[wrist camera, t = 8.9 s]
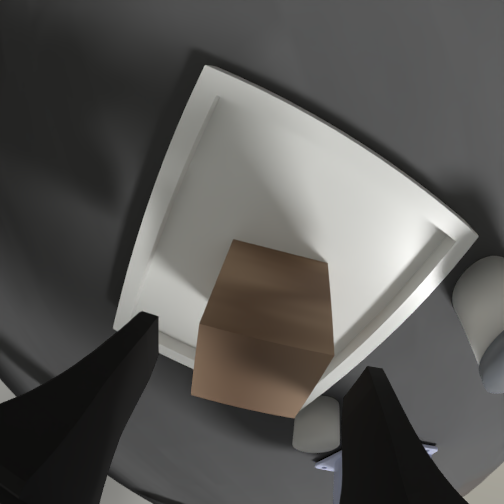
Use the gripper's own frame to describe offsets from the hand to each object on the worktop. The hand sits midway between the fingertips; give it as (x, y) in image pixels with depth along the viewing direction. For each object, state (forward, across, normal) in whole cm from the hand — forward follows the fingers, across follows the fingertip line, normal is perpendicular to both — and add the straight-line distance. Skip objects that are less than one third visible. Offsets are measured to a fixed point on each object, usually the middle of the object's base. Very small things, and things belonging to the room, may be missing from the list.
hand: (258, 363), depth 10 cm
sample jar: (+5, -11, -2) cm, 12 cm away
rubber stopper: (+5, -6, +10) cm, 12 cm away
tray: (+5, 0, 0) cm, 5 cm away
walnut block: (+4, 0, 0) cm, 4 cm away
